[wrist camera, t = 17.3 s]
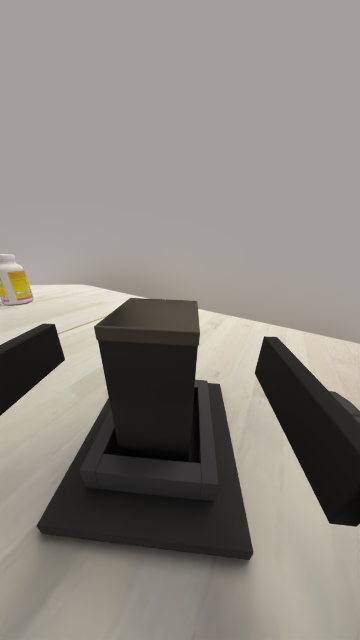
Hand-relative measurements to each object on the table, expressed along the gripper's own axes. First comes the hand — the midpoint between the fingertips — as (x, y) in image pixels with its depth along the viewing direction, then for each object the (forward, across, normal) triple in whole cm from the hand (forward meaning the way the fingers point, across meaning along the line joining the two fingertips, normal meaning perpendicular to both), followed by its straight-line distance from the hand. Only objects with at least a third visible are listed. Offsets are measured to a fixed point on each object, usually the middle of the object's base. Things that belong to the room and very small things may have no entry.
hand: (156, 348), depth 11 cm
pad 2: (0, 0, -10) cm, 10 cm away
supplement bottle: (+34, -47, -10) cm, 59 cm away
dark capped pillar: (0, 0, -9) cm, 9 cm away
